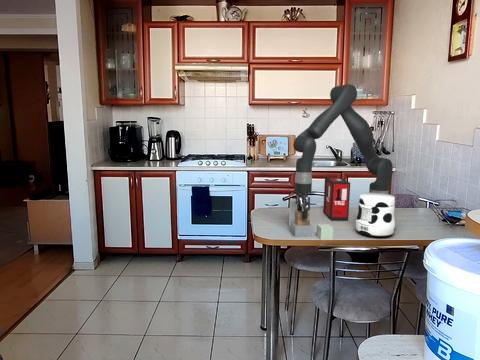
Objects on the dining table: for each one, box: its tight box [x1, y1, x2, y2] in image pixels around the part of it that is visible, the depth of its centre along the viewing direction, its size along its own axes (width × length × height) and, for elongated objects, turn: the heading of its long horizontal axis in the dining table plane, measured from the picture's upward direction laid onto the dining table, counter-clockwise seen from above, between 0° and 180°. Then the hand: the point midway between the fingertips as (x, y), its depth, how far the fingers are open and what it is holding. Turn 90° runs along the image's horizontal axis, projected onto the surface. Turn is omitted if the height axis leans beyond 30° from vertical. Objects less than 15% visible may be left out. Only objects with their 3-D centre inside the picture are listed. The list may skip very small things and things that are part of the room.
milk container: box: [355, 192, 396, 238], centre depth 181 cm, size 17×17×18 cm
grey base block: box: [290, 222, 314, 238], centre depth 181 cm, size 8×8×5 cm
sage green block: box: [316, 223, 334, 241], centre depth 176 cm, size 6×6×6 cm
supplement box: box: [288, 198, 297, 227], centre depth 195 cm, size 7×7×13 cm
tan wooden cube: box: [295, 210, 311, 225], centre depth 180 cm, size 6×6×6 cm
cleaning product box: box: [322, 176, 351, 222], centre depth 210 cm, size 16×9×20 cm, turn 2°
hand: (302, 216), depth 180 cm, fingers open, 8 cm apart
